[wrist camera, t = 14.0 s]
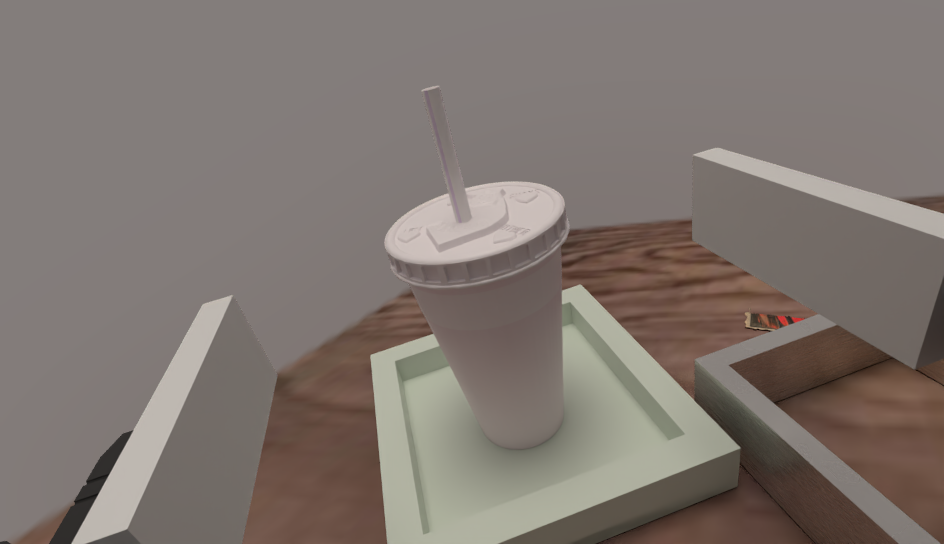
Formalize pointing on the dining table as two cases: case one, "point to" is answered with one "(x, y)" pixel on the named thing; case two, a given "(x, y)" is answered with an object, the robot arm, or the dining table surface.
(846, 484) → the square frame
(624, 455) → the tray
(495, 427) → the smoothie
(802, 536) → the dining table surface
